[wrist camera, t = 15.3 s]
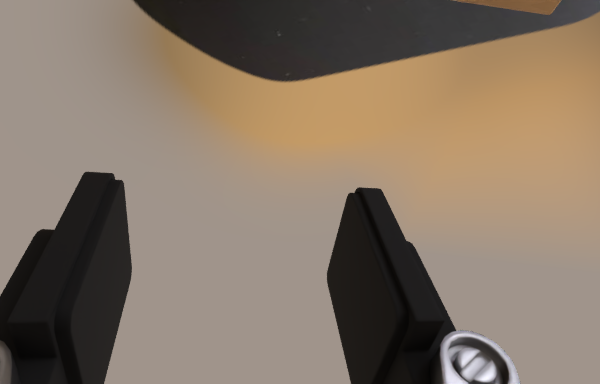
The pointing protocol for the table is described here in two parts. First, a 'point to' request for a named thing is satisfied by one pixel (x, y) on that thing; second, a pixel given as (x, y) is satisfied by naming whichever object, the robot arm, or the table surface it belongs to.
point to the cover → (520, 5)
